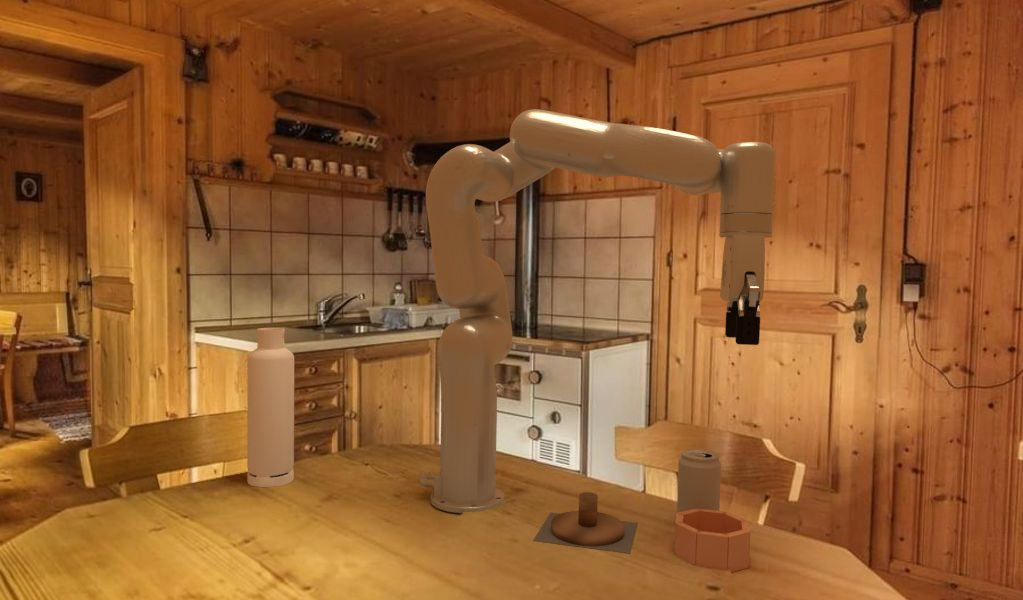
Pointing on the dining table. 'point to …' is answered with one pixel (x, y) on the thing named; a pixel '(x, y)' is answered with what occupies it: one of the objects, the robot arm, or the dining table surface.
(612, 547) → the mat
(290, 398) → the bottle
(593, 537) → the lid
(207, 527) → the dining table surface
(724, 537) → the bowl
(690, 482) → the beverage can
